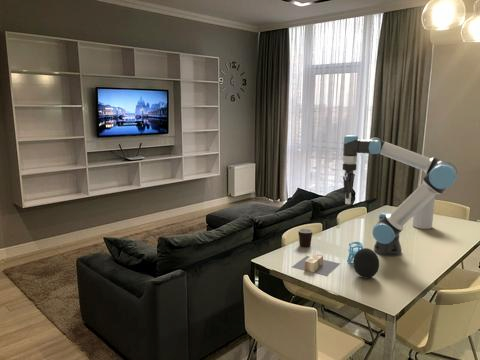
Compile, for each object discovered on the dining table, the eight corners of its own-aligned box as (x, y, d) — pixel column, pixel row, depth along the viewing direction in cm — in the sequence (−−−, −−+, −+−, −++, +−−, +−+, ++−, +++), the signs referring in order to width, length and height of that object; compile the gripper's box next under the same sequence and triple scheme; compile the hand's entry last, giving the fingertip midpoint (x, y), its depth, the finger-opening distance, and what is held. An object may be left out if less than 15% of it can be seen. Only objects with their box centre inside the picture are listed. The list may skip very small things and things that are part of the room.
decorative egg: (382, 282, 190) (384, 253, 187) (358, 283, 189) (359, 254, 186) (372, 271, 202) (373, 244, 200) (349, 272, 201) (350, 245, 199)
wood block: (323, 255, 209) (313, 263, 200) (322, 264, 210) (313, 272, 200) (314, 253, 212) (304, 261, 202) (314, 262, 213) (304, 270, 203)
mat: (340, 264, 211) (340, 263, 211) (326, 277, 196) (326, 276, 196) (306, 256, 223) (306, 255, 222) (291, 268, 207) (291, 267, 207)
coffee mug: (308, 249, 233) (309, 234, 231) (295, 247, 237) (296, 231, 235) (316, 244, 242) (316, 228, 241) (303, 241, 247) (303, 226, 245)
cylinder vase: (433, 225, 276) (436, 191, 271) (430, 230, 266) (433, 195, 261) (414, 223, 283) (416, 189, 278) (411, 227, 272) (413, 192, 268)
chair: (345, 260, 217) (346, 240, 214) (360, 260, 216) (361, 240, 214) (349, 266, 209) (349, 245, 207) (364, 266, 209) (365, 245, 207)
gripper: (347, 161, 226) (345, 200, 231) (339, 164, 215) (337, 205, 220) (360, 162, 222) (358, 202, 226) (352, 165, 211) (350, 207, 216)
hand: (347, 203), depth 223 cm, fingers closed
